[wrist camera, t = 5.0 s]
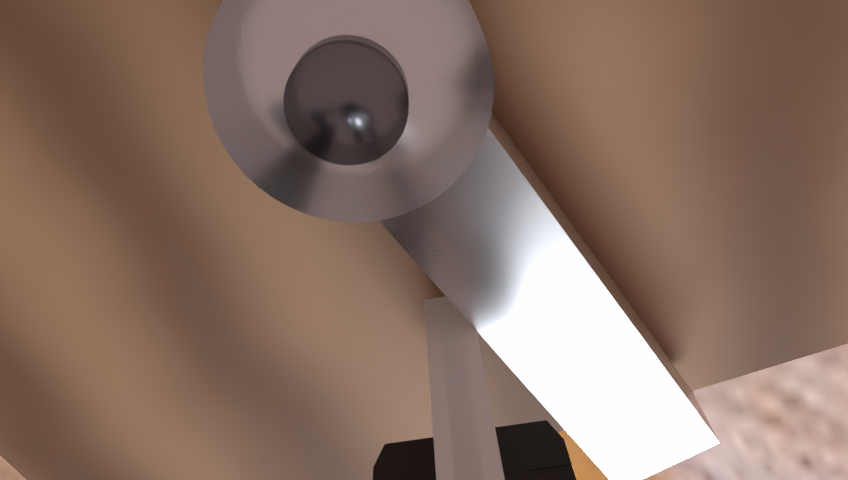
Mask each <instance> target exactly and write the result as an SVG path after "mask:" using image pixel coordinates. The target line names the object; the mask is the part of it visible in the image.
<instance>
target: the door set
mask: <svg viewBox="0 0 848 480" xmlns="http://www.w3.org/2000/svg"><path fill="white" fill-rule="evenodd" d="M222 1H223V0H0V455H1V456H2V457H3V458H4V459H5V460H6V461H7V462H8V463H9V464H11V465H12V466H13V467H14V468H15V469H16V470H17V471H18V472H19V473H20V474H21V475H22V476H23V477H25V478H26V479H27V480H373V467H374V465H375V463H376V461H377V459H378V457H379V455H380V452H381V450H382V448H383V446H384V444H388V443H395V442H402V441H409V440H416V439H423V438H431V437H433V425H432V411H431V397H430V383H429V368H428V354H427V340H426V326H425V311H424V300H425V299H432V298H439V297H445V294H444V293H443V292H442V291H441V290H440V289H439V288H438V287H437V286H436V284H435V283H434V282H433V281H432V280H431V279H430V278H429V277H428V275H427V274H426V273H425V272H424V271H423V270H422V269H421V268H420V266H419V265H418V264H417V263H416V262H415V261H414V260H413V259H412V257H411V256H410V255H409V254H408V253H407V252H406V251H405V250H404V249H403V247H402V246H401V245H400V244H399V243H398V242H397V241H396V240H395V238H394V237H393V236H392V235H391V234H390V233H389V232H388V231H387V229H386V228H385V227H384V226H383V225H382V224H381V223H380V222H379V220H378V221H372V222H340V221H333V220H328V219H322V218H318V217H315V216H312V215H308V214H305V213H302V212H300V211H298V210H295V209H293V208H291V207H288V206H287V205H285V204H283V203H281V202H279V201H278V200H276V199H274V198H273V197H271V196H270V195H268V194H267V193H266V192H264V191H263V190H261V189H260V188H259V187H258V186H257V185H255V184H254V183H253V182H252V181H251V180H250V179H249V178H248V177H247V176H246V175H245V174H244V173H243V172H242V171H241V170H240V169H239V167H238V166H237V165H236V164H235V163H234V162H233V160H232V159H231V157H230V156H229V154H228V153H227V151H226V150H225V148H224V147H223V145H222V143H221V141H220V139H219V137H218V135H217V133H216V131H215V129H214V127H213V124H212V121H211V118H210V116H209V113H208V109H207V104H206V100H205V95H204V86H203V55H204V50H205V45H206V39H207V35H208V33H209V30H210V27H211V24H212V21H213V18H214V16H215V14H216V12H217V10H218V8H219V6H220V4H221V2H222ZM469 1H470V3H471V5H472V8H473V10H474V12H475V15H476V17H477V19H478V22H479V24H480V27H481V29H482V31H483V34H484V36H485V38H486V41H487V45H488V49H489V52H490V56H491V60H492V68H493V75H494V98H493V106H492V114H493V115H494V117H495V118H496V120H497V121H498V122H499V124H500V125H501V126H502V128H503V129H504V131H505V132H506V133H507V135H508V136H509V138H510V139H511V140H512V142H513V143H514V144H515V146H516V147H517V149H518V150H519V151H520V153H521V154H522V156H523V157H524V158H525V160H526V161H527V162H528V164H529V165H530V167H531V168H532V169H533V171H534V172H535V174H536V175H537V176H538V178H539V179H540V180H541V182H542V183H543V185H544V186H545V187H546V189H547V190H548V192H549V193H550V194H551V196H552V197H553V199H554V200H555V201H556V203H557V204H558V205H559V207H560V208H561V210H562V211H563V212H564V214H565V215H566V217H567V218H568V219H569V221H570V222H571V223H572V225H573V226H574V228H575V229H576V230H577V232H578V233H579V235H580V236H581V237H582V239H583V240H584V241H585V243H586V244H587V246H588V247H589V248H590V250H591V251H592V253H593V254H594V255H595V257H596V258H597V259H598V261H599V262H600V264H601V265H602V266H603V268H604V269H605V271H606V272H607V273H608V275H609V276H610V277H611V279H612V280H613V282H614V283H615V284H616V286H617V287H618V289H619V290H620V291H621V293H622V294H623V295H624V297H625V298H626V300H627V301H628V302H629V304H630V305H631V307H632V308H633V309H634V311H635V312H636V313H637V315H638V316H639V318H640V319H641V320H642V322H643V323H644V325H645V326H646V327H647V329H648V330H649V331H650V333H651V334H652V336H653V337H654V338H655V340H656V341H657V343H658V344H659V345H660V347H661V348H662V349H663V351H664V352H665V354H666V355H667V356H668V358H669V359H670V361H671V362H672V363H673V365H674V366H675V367H676V369H677V370H678V372H679V373H680V374H681V376H682V377H683V379H684V380H685V381H686V383H687V384H688V385H689V387H690V388H691V390H692V391H693V390H696V389H700V388H703V387H706V386H710V385H713V384H716V383H719V382H723V381H726V380H729V379H732V378H736V377H739V376H742V375H746V374H749V373H752V372H755V371H759V370H762V369H765V368H768V367H772V366H775V365H778V364H782V363H785V362H788V361H791V360H795V359H798V358H801V357H804V356H808V355H811V354H814V353H817V352H821V351H824V350H827V349H831V348H834V347H837V346H840V345H844V344H847V343H848V0H469ZM477 334H478V340H479V345H480V350H481V356H482V361H483V366H484V372H485V377H486V382H487V388H488V393H489V398H490V404H491V409H492V414H493V419H494V425H495V427H501V426H508V425H515V424H522V423H529V422H536V421H543V420H547V421H548V422H549V423H550V425H551V426H552V427H553V428H554V429H555V430H556V431H557V432H559V431H562V430H565V429H564V428H563V427H562V426H561V425H560V423H559V422H558V421H557V420H556V419H555V418H554V417H553V416H552V414H551V413H550V412H549V411H548V410H547V409H546V408H545V407H544V406H543V404H542V403H541V402H540V401H539V400H538V399H537V398H536V397H535V395H534V394H533V393H532V392H531V391H530V390H529V389H528V388H527V386H526V385H525V384H524V383H523V382H522V381H521V380H520V379H519V377H518V376H517V375H516V374H515V373H514V372H513V371H512V370H511V369H510V367H509V366H508V365H507V364H506V363H505V362H504V361H503V360H502V358H501V357H500V356H499V355H498V354H497V353H496V352H495V351H494V349H493V348H492V347H491V346H490V345H489V344H488V343H487V342H486V340H485V339H484V338H483V337H482V336H481V335H480V334H479V333H478V331H477Z"/></svg>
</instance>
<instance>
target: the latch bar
mask: <svg viewBox="0 0 848 480" xmlns="http://www.w3.org/2000/svg"><path fill="white" fill-rule="evenodd" d="M203 86H204V95H205V100H206V104H207V109H208V113H209V116H210V118H211V121H212V124H213V127H214V129H215V131H216V133H217V135H218V137H219V139H220V141H221V143H222V145H223V147H224V148H225V150H226V151H227V153H228V154H229V156H230V157H231V159H232V160H233V162H234V163H235V164H236V165H237V166H238V167H239V169H240V170H241V171H242V172H243V173H244V174H245V175H246V176H247V177H248V178H249V179H250V180H251V181H252V182H253V183H254V184H255V185H257V186H258V187H259V188H260V189H261V190H263V191H264V192H266V193H267V194H268V195H270V196H271V197H273V198H274V199H276V200H278V201H279V202H281V203H283V204H285V205H287V206H288V207H291V208H293V209H295V210H298V211H300V212H302V213H305V214H308V215H312V216H315V217H318V218H322V219H328V220H333V221H340V222H372V221H378V220H379V222H380V223H381V224H382V225H383V226H384V227H385V228H386V229H387V231H388V232H389V233H390V234H391V235H392V236H393V237H394V238H395V240H396V241H397V242H398V243H399V244H400V245H401V246H402V247H403V249H404V250H405V251H406V252H407V253H408V254H409V255H410V256H411V257H412V259H413V260H414V261H415V262H416V263H417V264H418V265H419V266H420V268H421V269H422V270H423V271H424V272H425V273H426V274H427V275H428V277H429V278H430V279H431V280H432V281H433V282H434V283H435V284H436V286H437V287H438V288H439V289H440V290H441V291H442V292H443V293H444V294H445V296H446V297H447V298H448V299H449V300H450V301H451V302H452V303H453V305H454V306H455V307H456V308H457V309H458V310H459V311H460V312H461V314H462V315H463V316H464V317H465V318H466V319H467V320H468V321H469V323H470V324H471V325H472V326H473V327H474V328H475V329H476V330H477V331H478V333H479V334H480V335H481V336H482V337H483V338H484V339H485V340H486V342H487V343H488V344H489V345H490V346H491V347H492V348H493V349H494V351H495V352H496V353H497V354H498V355H499V356H500V357H501V358H502V360H503V361H504V362H505V363H506V364H507V365H508V366H509V367H510V369H511V370H512V371H513V372H514V373H515V374H516V375H517V376H518V377H519V379H520V380H521V381H522V382H523V383H524V384H525V385H526V386H527V388H528V389H529V390H530V391H531V392H532V393H533V394H534V395H535V397H536V398H537V399H538V400H539V401H540V402H541V403H542V404H543V406H544V407H545V408H546V409H547V410H548V411H549V412H550V413H551V414H552V416H553V417H554V418H555V419H556V420H557V421H558V422H559V423H560V425H561V426H562V427H563V428H564V429H565V430H566V431H567V432H568V434H569V435H570V436H571V437H572V438H573V439H574V440H575V441H576V443H577V444H578V445H579V446H580V447H581V448H582V449H583V450H584V451H585V453H586V454H587V455H588V456H589V457H590V458H591V459H592V460H593V462H594V463H595V464H596V465H597V466H598V467H599V468H600V469H601V471H602V472H603V473H604V474H605V475H606V476H607V477H608V478H609V480H642V479H644V478H646V477H649V476H651V475H653V474H655V473H657V472H659V471H661V470H663V469H666V468H668V467H670V466H672V465H674V464H676V463H678V462H681V461H683V460H685V459H687V458H689V457H691V456H693V455H696V454H698V453H700V452H702V451H704V450H706V449H708V448H711V447H713V446H715V445H717V444H719V441H718V439H717V437H716V435H715V433H714V431H713V429H712V428H711V426H710V424H709V422H708V420H707V418H706V416H705V414H704V413H703V411H702V409H701V407H700V405H699V403H698V401H697V399H696V398H695V396H694V394H693V392H692V390H691V388H690V387H689V385H688V384H687V383H686V381H685V380H684V379H683V377H682V376H681V374H680V373H679V372H678V370H677V369H676V367H675V366H674V365H673V363H672V362H671V361H670V359H669V358H668V356H667V355H666V354H665V352H664V351H663V349H662V348H661V347H660V345H659V344H658V343H657V341H656V340H655V338H654V337H653V336H652V334H651V333H650V331H649V330H648V329H647V327H646V326H645V325H644V323H643V322H642V320H641V319H640V318H639V316H638V315H637V313H636V312H635V311H634V309H633V308H632V307H631V305H630V304H629V302H628V301H627V300H626V298H625V297H624V295H623V294H622V293H621V291H620V290H619V289H618V287H617V286H616V284H615V283H614V282H613V280H612V279H611V277H610V276H609V275H608V273H607V272H606V271H605V269H604V268H603V266H602V265H601V264H600V262H599V261H598V259H597V258H596V257H595V255H594V254H593V253H592V251H591V250H590V248H589V247H588V246H587V244H586V243H585V241H584V240H583V239H582V237H581V236H580V235H579V233H578V232H577V230H576V229H575V228H574V226H573V225H572V223H571V222H570V221H569V219H568V218H567V217H566V215H565V214H564V212H563V211H562V210H561V208H560V207H559V205H558V204H557V203H556V201H555V200H554V199H553V197H552V196H551V194H550V193H549V192H548V190H547V189H546V187H545V186H544V185H543V183H542V182H541V180H540V179H539V178H538V176H537V175H536V174H535V172H534V171H533V169H532V168H531V167H530V165H529V164H528V162H527V161H526V160H525V158H524V157H523V156H522V154H521V153H520V151H519V150H518V149H517V147H516V146H515V144H514V143H513V142H512V140H511V139H510V138H509V136H508V135H507V133H506V132H505V131H504V129H503V128H502V126H501V125H500V124H499V122H498V121H497V120H496V118H495V117H494V115H493V114H492V106H493V98H494V75H493V68H492V60H491V56H490V52H489V49H488V45H487V41H486V38H485V36H484V34H483V31H482V29H481V27H480V24H479V22H478V19H477V17H476V15H475V12H474V10H473V8H472V5H471V3H470V1H469V0H223V1H222V2H221V4H220V6H219V8H218V10H217V12H216V14H215V16H214V18H213V21H212V24H211V27H210V30H209V33H208V35H207V39H206V45H205V50H204V55H203Z"/></svg>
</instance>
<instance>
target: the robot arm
mask: <svg viewBox="0 0 848 480" xmlns="http://www.w3.org/2000/svg"><path fill="white" fill-rule="evenodd" d="M424 311H425V326H426V340H427V354H428V368H429V383H430V397H431V411H432V425H433V437H431V438H423V439H416V440H409V441H402V442H395V443H388V444H384V446H383V448H382V450H381V452H380V455H379V457H378V459H377V461H376V463H375V465H374V467H373V480H576V478H575V474H574V471H573V469H572V465H571V461H570V458H569V455H568V451H567V448H566V445H565V442H564V439H563V438H562V437H561V436H560V435H559V434H558V432H557V431H556V430H555V429H554V428H553V427H552V426H551V425H550V423H549V422H548V421H547V420H543V421H536V422H529V423H522V424H515V425H508V426H501V427H495V425H494V419H493V414H492V409H491V404H490V398H489V393H488V388H487V382H486V377H485V372H484V366H483V361H482V356H481V350H480V345H479V340H478V334H477V330H476V329H475V328H474V327H473V326H472V325H471V324H470V323H469V321H468V320H467V319H466V318H465V317H464V316H463V315H462V314H461V312H460V311H459V310H458V309H457V308H456V307H455V306H454V305H453V303H452V302H451V301H450V300H449V299H448V298H447V297H446V296H445V297H439V298H432V299H425V300H424Z"/></svg>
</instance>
